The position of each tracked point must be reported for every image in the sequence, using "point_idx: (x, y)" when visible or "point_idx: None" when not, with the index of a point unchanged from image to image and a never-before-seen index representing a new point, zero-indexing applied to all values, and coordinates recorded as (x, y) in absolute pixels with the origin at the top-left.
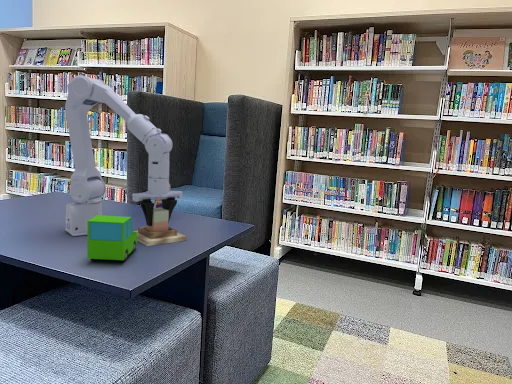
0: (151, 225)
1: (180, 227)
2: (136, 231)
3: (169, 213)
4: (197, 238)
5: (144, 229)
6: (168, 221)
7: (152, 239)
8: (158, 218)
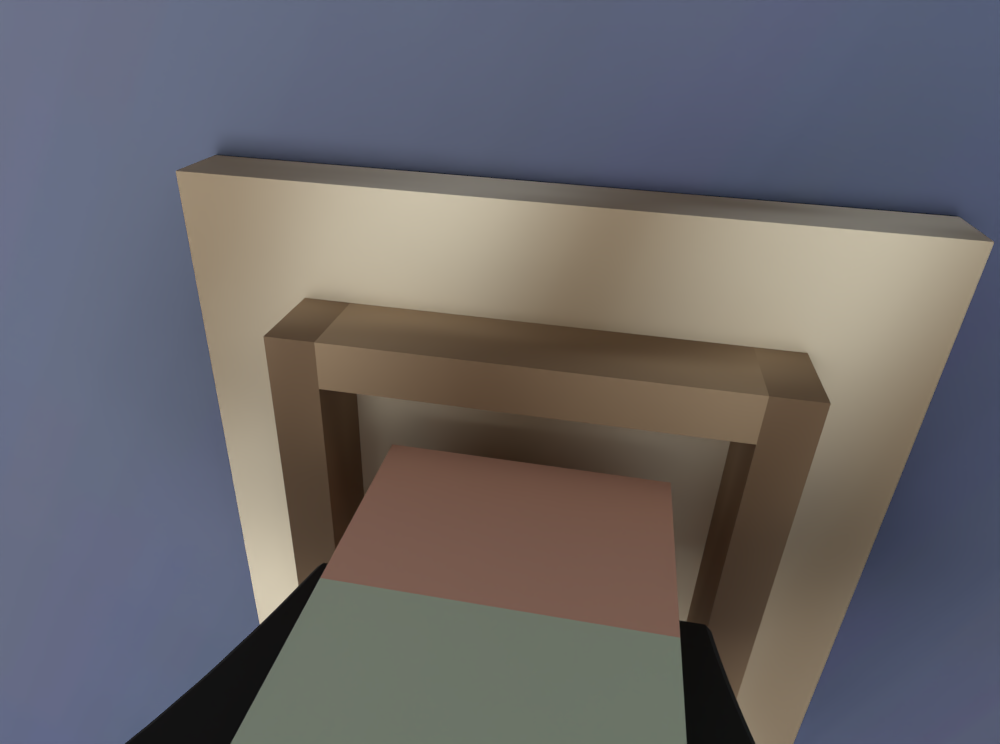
0: None
1: (91, 645)
2: None
3: (202, 737)
4: (20, 154)
5: None
6: (303, 593)
7: (799, 320)
8: (555, 687)
